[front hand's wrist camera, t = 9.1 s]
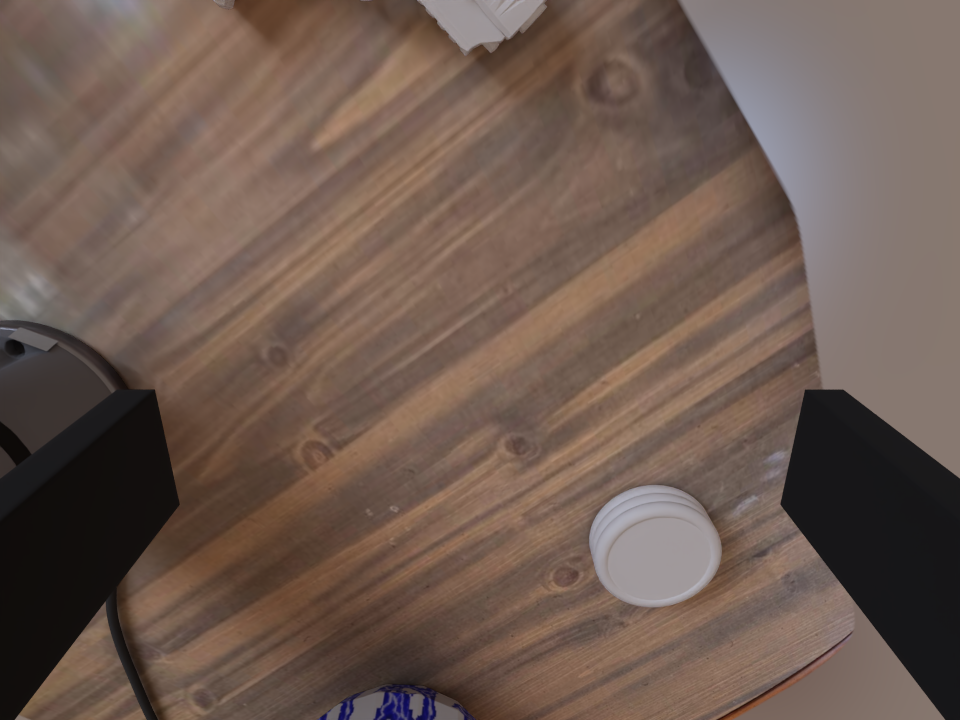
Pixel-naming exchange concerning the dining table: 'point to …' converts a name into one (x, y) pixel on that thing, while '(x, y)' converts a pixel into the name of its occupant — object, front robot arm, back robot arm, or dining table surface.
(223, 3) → the pistol
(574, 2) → the dining table surface
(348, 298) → the dining table surface
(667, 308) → the dining table surface
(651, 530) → the coaster
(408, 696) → the ornament
